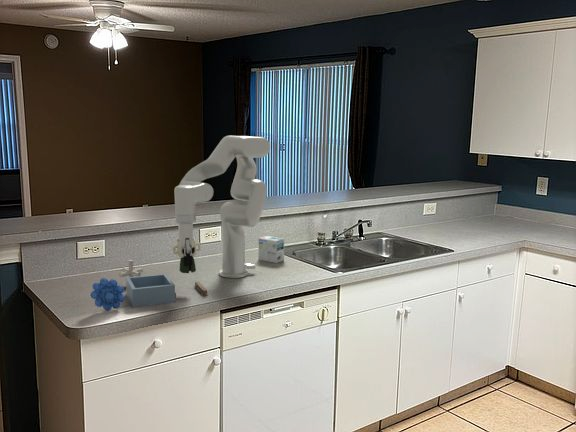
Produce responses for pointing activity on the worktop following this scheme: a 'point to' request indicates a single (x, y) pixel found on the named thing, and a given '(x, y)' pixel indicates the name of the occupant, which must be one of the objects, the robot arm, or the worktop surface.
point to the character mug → (181, 254)
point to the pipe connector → (130, 271)
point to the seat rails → (199, 288)
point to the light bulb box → (271, 249)
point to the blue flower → (107, 294)
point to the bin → (150, 290)
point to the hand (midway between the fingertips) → (187, 262)
